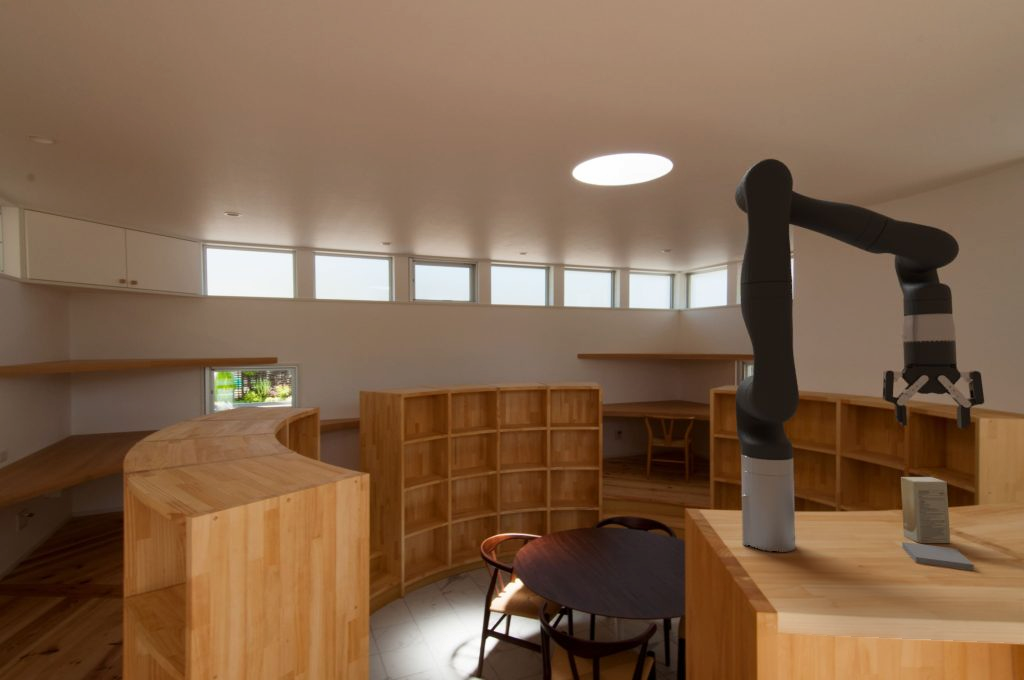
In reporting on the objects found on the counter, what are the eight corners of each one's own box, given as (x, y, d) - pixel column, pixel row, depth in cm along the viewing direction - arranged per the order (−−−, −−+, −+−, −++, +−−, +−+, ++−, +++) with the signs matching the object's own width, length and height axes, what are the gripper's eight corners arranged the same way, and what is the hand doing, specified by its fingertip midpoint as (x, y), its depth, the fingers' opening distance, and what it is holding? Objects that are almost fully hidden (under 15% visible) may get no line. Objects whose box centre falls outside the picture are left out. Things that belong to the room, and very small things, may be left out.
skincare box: (934, 536, 101) (932, 476, 102) (951, 544, 97) (949, 481, 98) (901, 535, 102) (899, 475, 103) (916, 543, 98) (914, 480, 98)
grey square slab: (915, 562, 88) (915, 556, 88) (902, 547, 95) (902, 541, 96) (973, 570, 85) (973, 564, 85) (955, 553, 92) (955, 548, 92)
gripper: (885, 339, 92) (889, 426, 92) (987, 337, 86) (991, 431, 85) (878, 341, 99) (881, 422, 98) (971, 339, 92) (975, 426, 92)
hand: (932, 426), depth 92 cm, fingers open, 8 cm apart
